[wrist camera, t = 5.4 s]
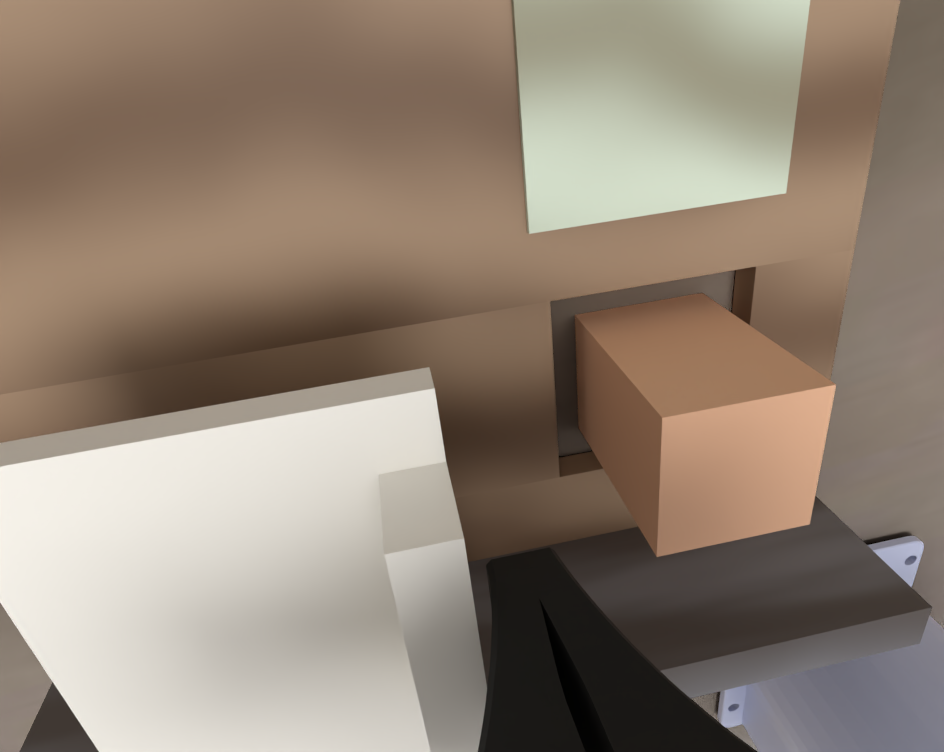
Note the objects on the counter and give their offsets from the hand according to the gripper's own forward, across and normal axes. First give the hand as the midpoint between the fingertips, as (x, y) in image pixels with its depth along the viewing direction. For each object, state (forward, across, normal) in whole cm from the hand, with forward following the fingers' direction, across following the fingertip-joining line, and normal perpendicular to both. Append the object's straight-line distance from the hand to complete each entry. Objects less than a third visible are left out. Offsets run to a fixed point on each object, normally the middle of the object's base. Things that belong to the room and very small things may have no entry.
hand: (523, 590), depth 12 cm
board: (+8, +1, -2) cm, 8 cm away
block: (+8, -6, 0) cm, 10 cm away
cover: (+1, +5, +2) cm, 6 cm away
